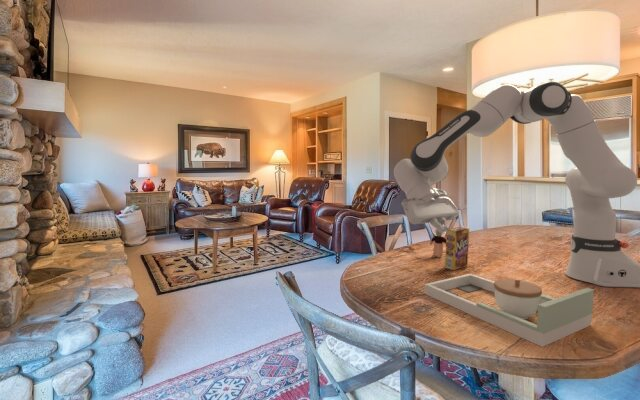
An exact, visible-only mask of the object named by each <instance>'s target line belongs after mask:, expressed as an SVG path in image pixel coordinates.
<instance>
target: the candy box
mask: <svg viewBox="0 0 640 400" xmlns="http://www.w3.org/2000/svg"><path fill="white" fill-rule="evenodd" d="M445 239H446V244H445V253H444V255H445V256H444V257H445V260H444V268H445V269H448V270H451V271H456V270H459V269H462V268H466V267H468V257H469V242H470V227H467V226H466V227H465V226H459V227H451V228H449V230H448V231H446V237H445Z"/></svg>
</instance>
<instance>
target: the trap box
mask: <svg viewBox="0 0 640 400" xmlns="http://www.w3.org/2000/svg"><path fill="white" fill-rule="evenodd" d="M494 282H495V281H493V280H491V279H487V278H485V277H481V276H479V275H476V274H473V273H467V274H463V275H458V276H454V277H450V278H444V279H441V280H437V281H432V282H429V283H424V292H423V294H424V295H426V296H429V297H431V298H433V299H435V300H437V301H440V302H441V303H444V304H446V305H448V306H451V307H453V308H455V309H458V310H459V311H462V312H464V313H467V314H469V316H470V315H471V316H472V317H476V318H477V319H479V320H481V321H484V322H487V323H488V324H491V325H493V326H495V327H496V328H499V329H502V330H504V331H506V332H509V333H511V335H512V334H513V335H515V336H517V337H519V338H522V339H523V340H525V341H528V342H530V343H532V344H535V345H537V346H539V347H542V348H543V347H545V346H547V345H550V344H552V343H554V342H556V341H558V340H562V339H564V338H566V337H567V336H568V337H569V336H570V335H572V334H575V333H576V332H579V331H582V330H583V329H585V328H588V327H590V326H592V325H591V324H592V314H593V313H592V314H590V315H588V316H585V317H583V318H580V319H578V320H576V321H573V322H571V323H568V324H566V325H564V326H561V327H559V328H557V329H554V330H552V331H549V332H547V333H545V334H542V333H540V332H538V331H535V330H532V329H530V328H528V327H525V326H523V325H520V324H518V323H516V322H513V321H511V320H508V319H506V318H504V317H501V316H499V315H496V314H494V313H492V312H489V311H487V310H485V309H482V308H480V307H477V302H473V301H471V300H468V299H466V298H464V297H461V296H459V294H458V293H455V292H453V291H451V290H453V289H459V290H461V291H464V292H465V293H466V292H467V293H472V292H473V293H474V292H476V291H479V290H486V291H489V292H491V293H494ZM545 302H547V301H546V300H543V299H541V301H540V304H542V303H545Z"/></svg>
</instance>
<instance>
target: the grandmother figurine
mask: <svg viewBox="0 0 640 400" xmlns="http://www.w3.org/2000/svg"><path fill="white" fill-rule="evenodd" d="M444 233H445V232H439V231H438V230H437V228H435V235H434V236H433V237H432V238H431V240H430V242H429V244H430V245H433V254H432V255H431V257H432V258H437V259H443V255H444V254H443V253H444V244H445V245H446V237H443V234H444ZM433 243H434V244H433Z"/></svg>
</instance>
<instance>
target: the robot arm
mask: <svg viewBox="0 0 640 400" xmlns="http://www.w3.org/2000/svg"><path fill="white" fill-rule="evenodd" d="M509 119H511V120H512V121H513V122H514V123H518V124H522V125H526V124H532V123H535V122H540V121H543V120H547V121H548V122H549V123H550V125H551V127H552V129H553V132H554V133H555V137H556V138H557V141H558V143H559V145H560V148H561V150H562V152H563V155H564V156H565V157H566V158H567V159H569V161H571V162H572V163H573V165H574V166H575V167H573V168H571V169H570V170H569V171H567V173H566V175H565V181H564V182H565V184H566V186H567V188H568V189H569V191H570V197H571V201H572V207H573V233H572V235H571V238H570V251H571V252H570V257H569V262H568V264H567V267H566V269H565V272H564V274H565V275H566V276H567V277H570V278H572V279H574V280H578V281H582V282H586V283H590V284H593V285H597V286H600V287H606V288H607V287H608V288H609V287H612V288H613V287H614V288H640V263H639V262H638V261H636V260H635V259H634V258H633V257H631V256H629V255H628V254H627V253H625V252H624V251H623V250H622V249H628V248H629V247H630V243H628V242H627V241H623V240H622V241H621V240H619V239H617V238H616V234H617V233H616V231H617V219H618V218H617V214H616V212H615V211H614V209H613V207H612V205H611V202H610V199H615V198H621V197H626V196H628V195H630V194H631V193H632V192H633V191H634V190H635V189H636V187H637V185H638V176H637V174H636V172H635V171H634V170H632V168H629V166H626V165H625V164H624V163H623V162H622V161H621V160H620V159H619V158H618V156H617V155H616V154H615V153H614V151H613V150H612V149H611V148H610V147H609V145H608V144H607V142H606V141H605V139H604V137H603V135H602V132H601V130H600V128H599V125H598V123H597V121H596V119H595V116H594V114H593V113H592V110H591V109H590V106H588V105H587V103H586V101H585V100H584V99H583V98H582V97H581V96H580V95H579V94H572V93H570V92H569V91H568V89H567V88H566V87H565V86H564V85H563V84H562V83H559V82H556V81H546V82H542V83H540V84H538V85H536V86H532V87H531V88H529V89H527V90H526V91H521V90H520V89H519V88H517V87H516V86H514V85H513V84H502V85H500V86H497V88H494V89H493V90H492V91H490V92H489V93H488V94H487V95H485V96H484V97H483V98H481V100H479V102H477V103H476V104H475V105H474V106H473V107H472V108H470V109H468V110H465V111H463V112H461V113H460V114H458V115H457V116H456V117H453V119H452V120H450V121H449V122H448V123H447V124H445V125H444V126H443V127H441V128H440V129H439V130H438V131H436V132H435V133H434V134H432V135H431V136H428V137H427V138H424V139H423V140H421V141H419V142H417V143H416V144H415V145H414V146H413V148H412V149H411V153H410V158H403V159H401V160H400V161H398V162H397V163H396V165H395V166H394V168H393V176H394V179H395V181H396V183H397V184H398V186H399V188H400V189H401V191H403V192H404V194H405V197H406V198H403V199H402V201H401V202H400V204H401V207H402V208H403V211H404V214H405V216H406V218H407V221H408V222H409V223H410V224H411V225H413V226H414V225H420V224H428V223H429V224H430V225H431V226H433V227H434V228H435V229H437V230H438V231H439V232H444V233H445V232H446V233H447V231H448V230H449V229H450V228H449V226H448V225H447V221H453V220H455V219H457V217H458V216H459V215H460V210H459V208H458V207H457V206H456V204H455V203H454V202H453V200H452V199H451V198H450V197H448V193H447V191H445V190H444V189H440V188H436V187H434V186H433V185H435V184H438V183H441V182H442V181H443V180H444V179H445V178H446V177H447V176H448V174H449V171H450V168H449V164H448V161H447V159H446V157H445V153H446V151H447V149H448V148H449V147H450V146H453V144H455V143H456V142H458V140H460V139H461V138H462V137H463V136H465V135H467V134H471V135H473V136H475V137H479V138H482V137H483V138H485V137H488V136H491V135H492V134H493V133H495V132H496V131H498V130H499V129H500V128H501V127H502V126H503V125H504V124H505V123H506V122H507V121H509Z"/></svg>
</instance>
